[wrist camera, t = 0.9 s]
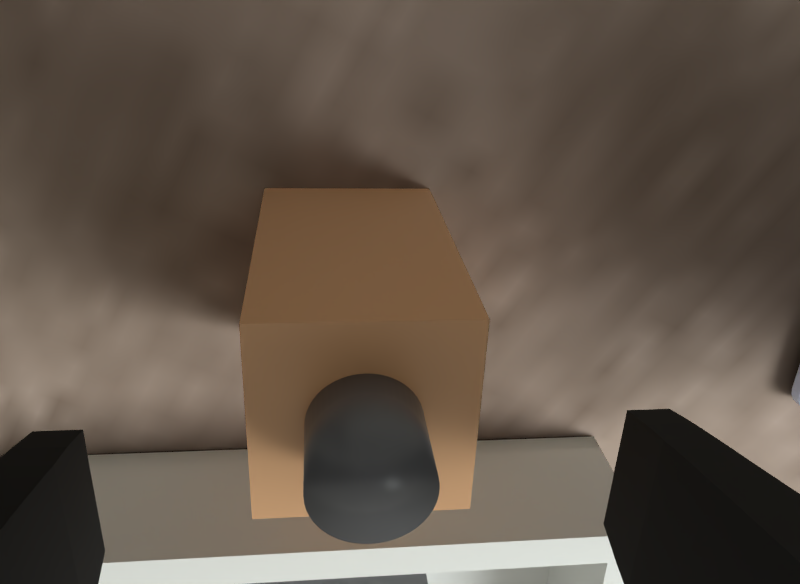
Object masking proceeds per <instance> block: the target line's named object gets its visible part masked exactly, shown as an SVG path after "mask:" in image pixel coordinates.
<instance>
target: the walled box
mask: <svg viewBox="0 0 800 584" xmlns="http://www.w3.org/2000/svg"><path fill="white" fill-rule="evenodd" d="M88 461H89V466H90V472H91V477H92V482H93V488H94V493H95V498H96V504H97V509H98V515H99V520H100V525H101V531H102V536H103V542H104V547H105V554H104V559H103V564H102V569H101V573H100V578H99V583H98V584H250V583H267V582H284V581H302V580H319V579H337V578H354V577H371V576H389V575H406V574H424V573H426V576H427V581H428V584H624V583H623V580H622V577H621V574H620V572H619V569H618V566H617V563H616V561H615V558H614V555H613V551H612V548H611V545H610V542H609V539H608V536H607V533H606V530H605V527H604V524H603V523H604V519H605V514H606V509H607V504H608V500H609V495H610V490H611V485H612V481H613V476H614V472H613V470H612V468H611V466H610V465H609V463H608V461H607V459H606V458H605V456H604V454H603V452H602V450H601V449H600V447H599V445H598V443H597V442H596V440H595V438H594V436H592V437H565V438H538V439H511V440H483V441H477V446H476V456H475V466H474V475H473V485H472V495H471V504H470V509H456V510H435V511H432V512H431V514H430V515H429V516H428V518H427V519H426V520H425V521H424V522H423V523H422V524H421V525H420V526H418V527H417V528H416V529H414V530H413V531H411V532H410V533H408V534H406V535H404V536H402V537H399V538H397V539H394V540H391V541H387V542H382V543H376V544H357V543H350V542H345V541H342V540H339V539H337V538H334V537H332V536H330V535H328V534H327V533H325V532H324V531H322V530H321V529H320V528H319V527H317V525H316V524H315V523H314V522H313V521H312V520H311V518H310V517H288V518H267V519H252V511H251V496H250V481H249V465H248V450H247V449H239V450H212V451H184V452H157V453H130V454H103V455H88Z"/></svg>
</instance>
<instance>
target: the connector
mask: <svg viewBox="0 0 800 584" xmlns="http://www.w3.org/2000/svg"><path fill="white" fill-rule="evenodd" d="M489 321H490V319H489V317H488V315H487V313H486V310H485V308H484V306H483V304H482V302H481V300H480V297H479V295H478V293H477V291H476V289H475V287H474V285H473V282H472V280H471V278H470V276H469V274H468V272H467V269H466V267H465V265H464V263H463V261H462V259H461V256H460V254H459V252H458V250H457V248H456V246H455V244H454V241H453V239H452V237H451V235H450V233H449V231H448V228H447V226H446V224H445V222H444V220H443V218H442V215H441V213H440V211H439V209H438V207H437V205H436V202H435V200H434V198H433V196H432V194H431V192H430V190H429V189H384V188H264V194H263V199H262V204H261V210H260V215H259V220H258V226H257V231H256V237H255V242H254V247H253V253H252V258H251V263H250V269H249V274H248V279H247V285H246V290H245V296H244V301H243V306H242V312H241V317H240V322H239V329H240V344H241V359H242V374H243V389H244V405H245V420H246V435H247V450H248V465H249V481H250V496H251V511H252V519H267V518H288V517H310V518H311V520H312V521H313V522H314V523H315V524H316V525H317V527H319V528H320V529H321V530H322V531H324V532H325V533H327V534H328V535H330V536H332V537H334V538H337V539H339V540H342V541H345V542H350V543H357V544H376V543H382V542H387V541H391V540H394V539H397V538H399V537H402V536H404V535H406V534H408V533H410V532H411V531H413V530H414V529H416V528H417V527H418V526H420V525H421V524H422V523H423V522H424V521H425V520H426V519H427V518H428V516H429V515H430V514H431V512H432V511H435V510H456V509H470V504H471V495H472V485H473V475H474V466H475V456H476V446H477V437H478V427H479V418H480V408H481V398H482V389H483V379H484V370H485V360H486V350H487V341H488V331H489Z"/></svg>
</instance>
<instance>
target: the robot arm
mask: <svg viewBox="0 0 800 584" xmlns="http://www.w3.org/2000/svg"><path fill="white" fill-rule="evenodd" d="M791 395H792V397H793V400H794V401H795V402H796V403H798V404H799V405H800V365H799V368H798V372H797V375H796V378H795V381H794V384H793V387H792V393H791ZM603 524H604V527H605V530H606V533H607V536H608V539H609V542H610V545H611V548H612V551H613V555H614V558H615V561H616V563H617V566H618V569H619V572H620V574H621V577H622V580H623V583H624V584H800V494H799V493H797V492H796V491H794V490H793V489H791V488H790V487H788V486H787V485H785V484H784V483H782V482H781V481H779V480H778V479H776V478H775V477H773V476H772V475H770V474H769V473H767V472H766V471H764V470H763V469H761V468H760V467H758V466H757V465H755V464H754V463H752V462H751V461H749V460H748V459H746V458H745V457H743V456H742V455H741V454H739V453H738V452H736V451H735V450H733V449H732V448H730V447H729V446H727V445H726V444H724V443H723V442H721V441H720V440H718V439H717V438H715V437H714V436H712V435H711V434H709V433H708V432H706V431H705V430H703V429H702V428H700V427H698V426H697V425H695V424H694V423H692V422H691V421H689V420H687V419H686V418H684V417H682V416H681V415H679V414H677V413H676V412H674V411H672V410H670V409H653V410H627V414H626V419H625V423H624V428H623V433H622V438H621V443H620V447H619V452H618V457H617V462H616V466H615V471H614V476H613V481H612V485H611V490H610V495H609V500H608V504H607V509H606V514H605V519H604V523H603ZM104 554H105V547H104V542H103V536H102V531H101V525H100V520H99V515H98V509H97V504H96V498H95V493H94V488H93V482H92V477H91V472H90V466H89V461H88V455H87V450H86V445H85V439H84V434H83V430H64V431H36V432H31V433H30V434H29V435H28V436H26V437H25V438H24V439H23V440H21V441H20V442H19V443H18V444H16V445H15V446H14V447H13V448H12V449H10V450H9V451H8V452H7V453H6V454H5V455H3V456H2V457H1V458H0V584H98V583H99V578H100V573H101V569H102V564H103V559H104Z"/></svg>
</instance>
